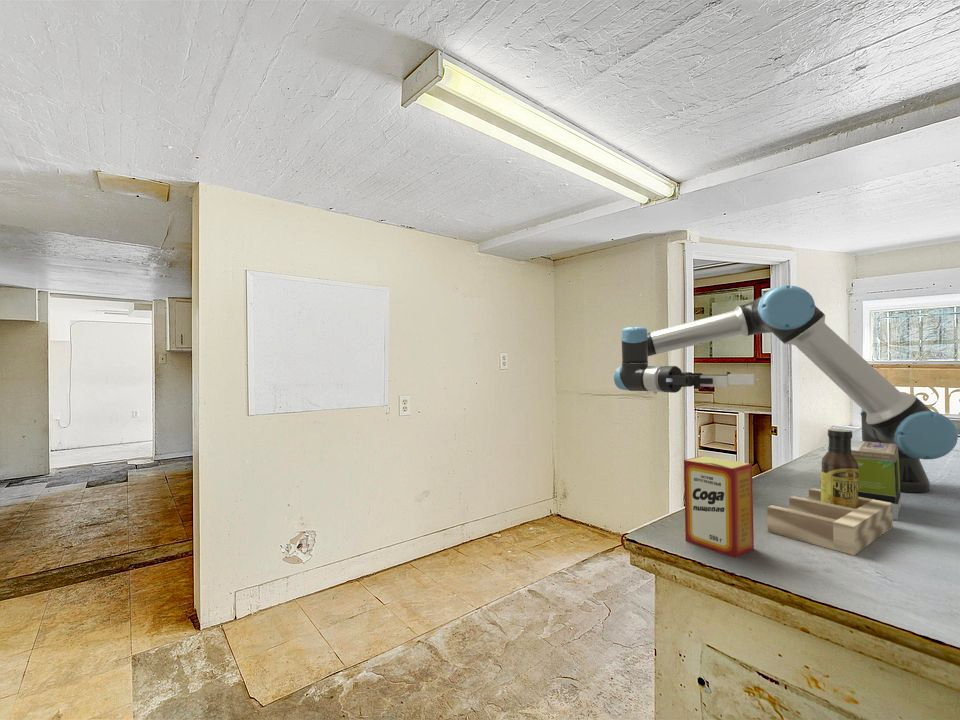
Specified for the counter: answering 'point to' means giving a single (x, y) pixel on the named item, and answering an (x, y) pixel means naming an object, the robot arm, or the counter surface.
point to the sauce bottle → (839, 471)
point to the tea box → (878, 472)
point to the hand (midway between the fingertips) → (741, 380)
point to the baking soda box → (719, 504)
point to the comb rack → (831, 522)
